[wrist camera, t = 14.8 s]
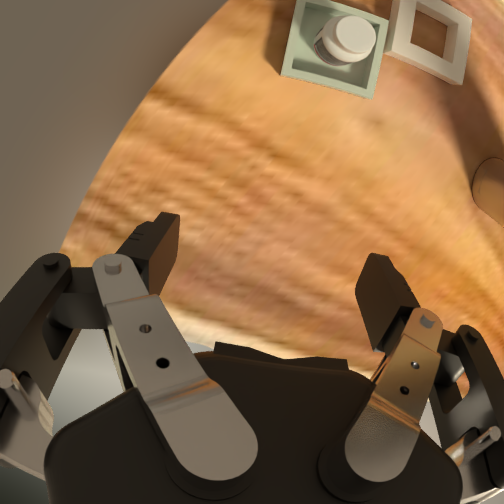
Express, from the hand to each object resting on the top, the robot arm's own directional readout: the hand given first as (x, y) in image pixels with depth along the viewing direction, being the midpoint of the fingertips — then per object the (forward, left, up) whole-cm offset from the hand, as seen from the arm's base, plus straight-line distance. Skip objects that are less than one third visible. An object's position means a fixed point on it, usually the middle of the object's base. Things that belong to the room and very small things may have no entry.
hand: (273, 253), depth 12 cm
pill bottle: (-5, -14, -28) cm, 32 cm away
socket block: (-17, -21, -28) cm, 39 cm away
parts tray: (-5, -14, -28) cm, 32 cm away
